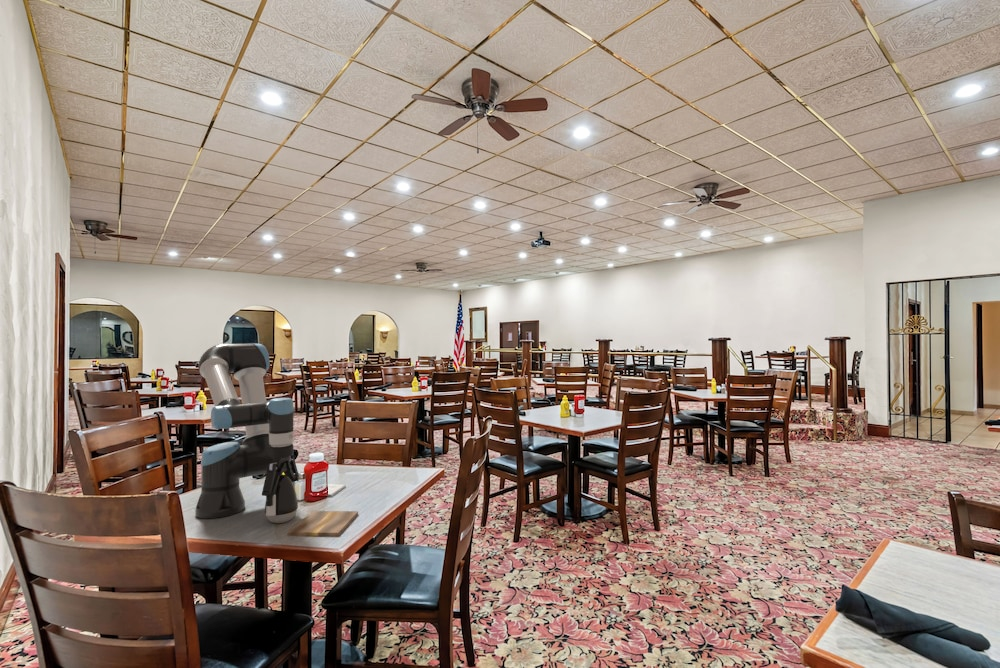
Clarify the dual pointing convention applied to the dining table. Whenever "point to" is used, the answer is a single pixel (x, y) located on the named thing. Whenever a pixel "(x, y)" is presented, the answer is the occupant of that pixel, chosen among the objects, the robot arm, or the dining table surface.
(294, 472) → the robot arm
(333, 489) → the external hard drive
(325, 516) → the board
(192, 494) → the dining table surface
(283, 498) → the dark grey rounded ovoid
